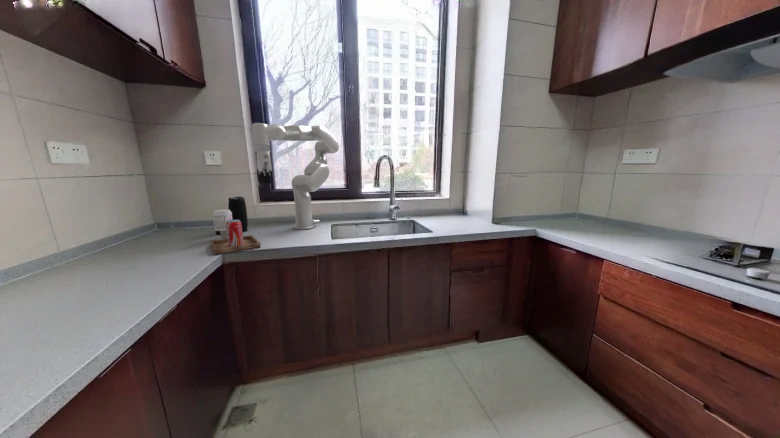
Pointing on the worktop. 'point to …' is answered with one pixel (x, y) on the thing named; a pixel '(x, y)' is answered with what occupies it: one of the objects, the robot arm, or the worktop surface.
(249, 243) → the tray
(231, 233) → the soda can
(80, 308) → the worktop surface
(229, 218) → the supplement can
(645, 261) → the worktop surface
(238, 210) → the portable speaker
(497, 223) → the worktop surface
